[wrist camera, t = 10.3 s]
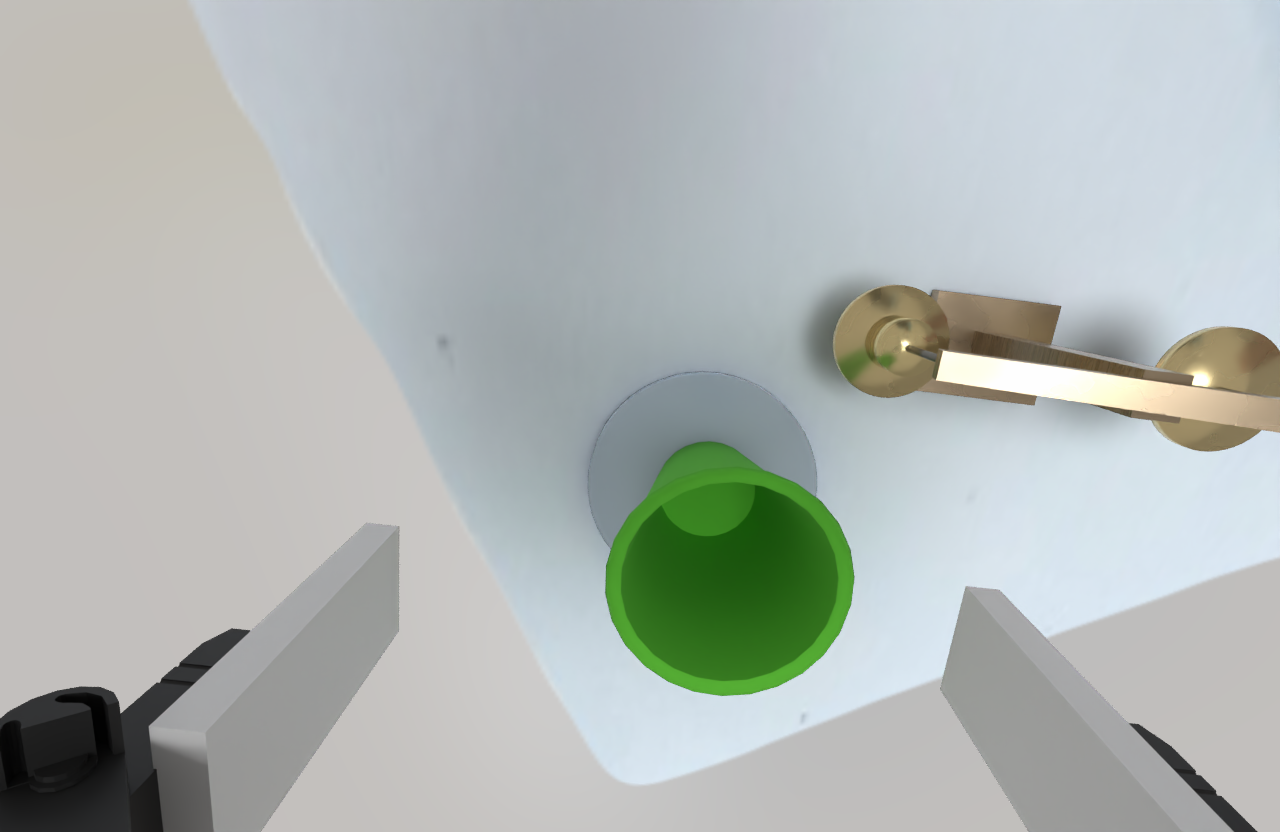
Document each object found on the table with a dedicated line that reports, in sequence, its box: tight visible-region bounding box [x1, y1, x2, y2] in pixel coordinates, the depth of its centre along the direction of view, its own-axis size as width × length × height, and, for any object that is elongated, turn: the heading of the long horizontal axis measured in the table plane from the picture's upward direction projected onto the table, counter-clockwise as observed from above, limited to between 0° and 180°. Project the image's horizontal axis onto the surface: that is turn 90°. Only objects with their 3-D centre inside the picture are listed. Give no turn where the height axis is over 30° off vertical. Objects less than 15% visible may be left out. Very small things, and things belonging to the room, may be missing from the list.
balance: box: [833, 285, 1280, 451], centre depth 26 cm, size 17×5×14 cm, turn 83°
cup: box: [605, 441, 854, 696], centre depth 29 cm, size 9×9×11 cm
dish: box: [588, 372, 817, 549], centre depth 35 cm, size 12×12×1 cm
